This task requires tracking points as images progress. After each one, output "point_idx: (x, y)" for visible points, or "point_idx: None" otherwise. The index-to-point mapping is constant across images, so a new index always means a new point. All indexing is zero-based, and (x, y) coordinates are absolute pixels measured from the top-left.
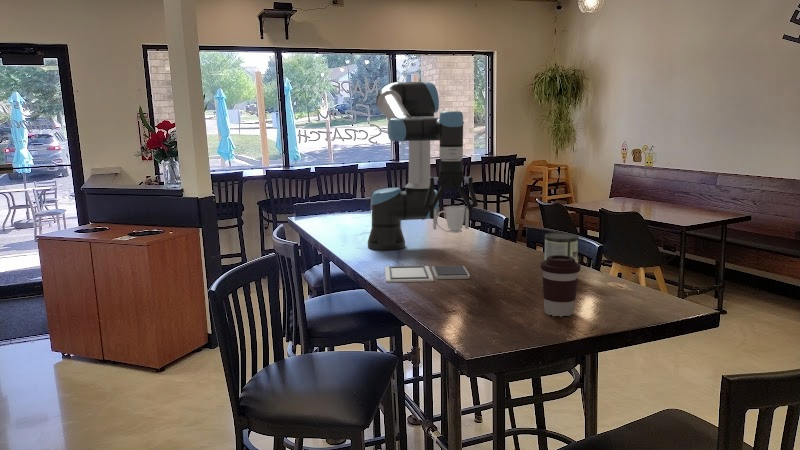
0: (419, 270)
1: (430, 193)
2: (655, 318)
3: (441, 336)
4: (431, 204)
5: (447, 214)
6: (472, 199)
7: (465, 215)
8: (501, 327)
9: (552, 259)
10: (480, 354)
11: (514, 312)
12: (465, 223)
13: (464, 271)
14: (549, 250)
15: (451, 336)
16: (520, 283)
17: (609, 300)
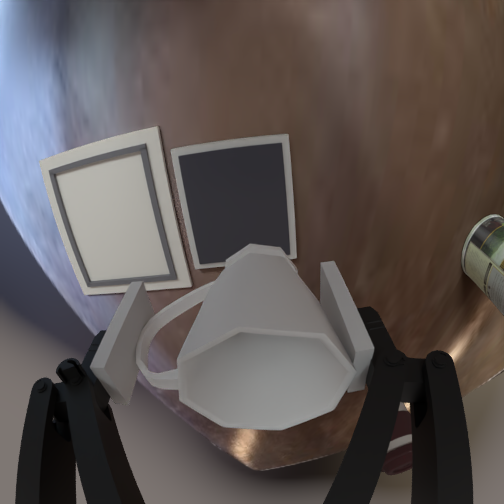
0: (136, 193)
1: (65, 491)
2: (463, 391)
3: (231, 454)
4: (74, 399)
5: (206, 374)
6: (413, 436)
7: (339, 325)
8: (299, 441)
9: (389, 474)
10: (266, 468)
11: (330, 412)
12: (326, 293)
13: (283, 225)
14: (500, 306)
15: (242, 454)
16: (405, 288)
17: (470, 352)
